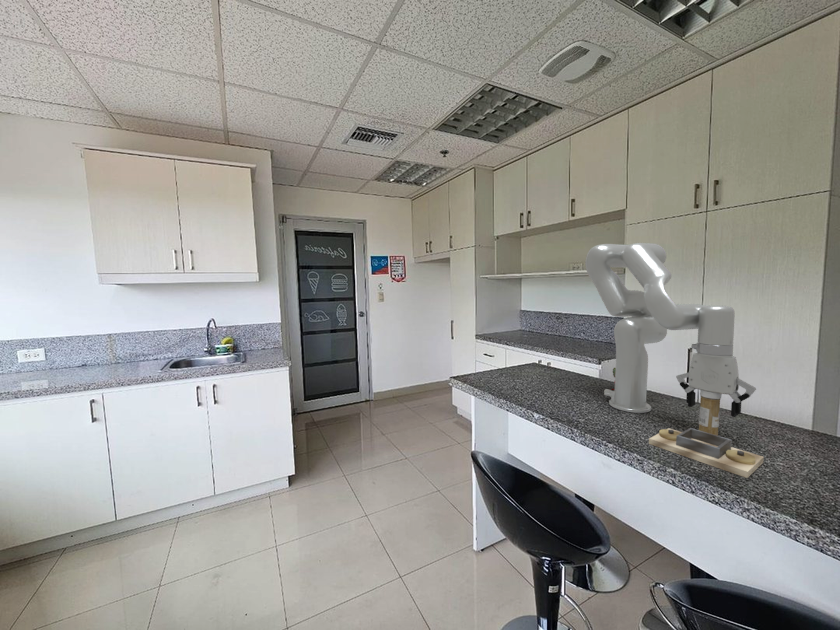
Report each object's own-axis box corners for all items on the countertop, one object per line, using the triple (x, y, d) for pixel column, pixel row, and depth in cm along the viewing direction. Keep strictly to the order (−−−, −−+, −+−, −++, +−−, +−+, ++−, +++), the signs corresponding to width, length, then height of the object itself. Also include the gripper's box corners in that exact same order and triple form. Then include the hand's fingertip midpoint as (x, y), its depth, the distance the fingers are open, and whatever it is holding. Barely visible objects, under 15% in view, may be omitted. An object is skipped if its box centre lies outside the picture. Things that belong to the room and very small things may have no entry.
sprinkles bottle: (721, 440, 96) (724, 393, 94) (700, 438, 97) (704, 391, 96) (714, 434, 100) (717, 388, 98) (694, 431, 101) (697, 386, 100)
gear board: (648, 443, 94) (649, 429, 94) (668, 433, 100) (669, 419, 100) (747, 478, 77) (748, 461, 77) (763, 462, 84) (764, 446, 83)
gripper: (672, 347, 101) (670, 405, 102) (752, 356, 87) (749, 423, 88) (683, 345, 105) (681, 400, 106) (761, 353, 91) (758, 417, 92)
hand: (712, 410), depth 97 cm, fingers open, 9 cm apart
